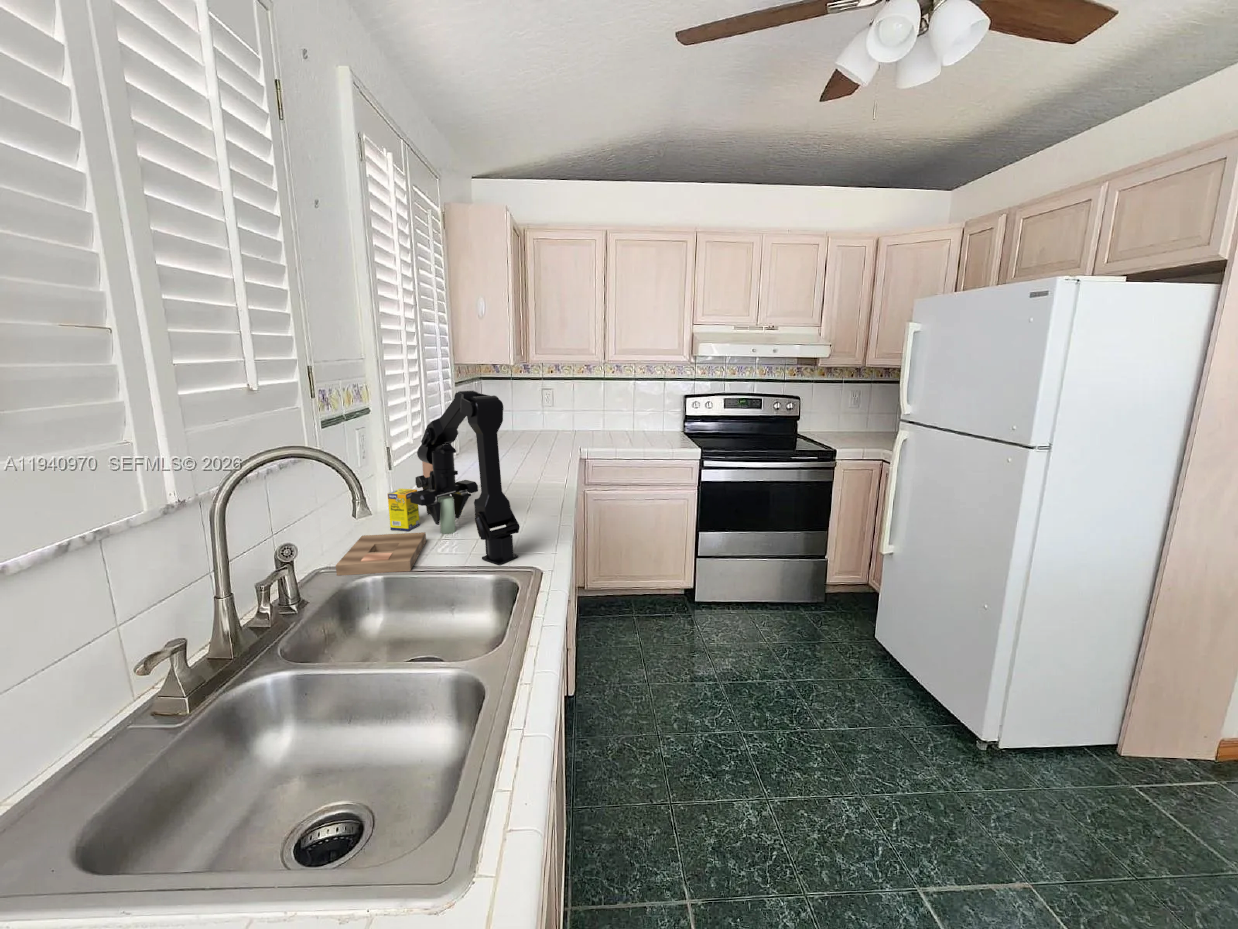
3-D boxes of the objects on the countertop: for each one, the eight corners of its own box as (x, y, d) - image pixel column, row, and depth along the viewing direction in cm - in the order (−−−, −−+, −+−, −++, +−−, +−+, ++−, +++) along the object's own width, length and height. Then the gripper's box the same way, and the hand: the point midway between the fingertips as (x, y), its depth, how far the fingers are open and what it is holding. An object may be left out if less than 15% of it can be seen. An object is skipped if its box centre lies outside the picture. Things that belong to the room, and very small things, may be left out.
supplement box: (408, 531, 150) (405, 494, 148) (389, 530, 152) (386, 493, 149) (420, 525, 156) (417, 489, 154) (402, 523, 157) (399, 488, 155)
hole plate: (363, 544, 140) (362, 534, 140) (426, 541, 143) (425, 531, 142) (336, 575, 121) (335, 564, 121) (410, 571, 124) (409, 560, 123)
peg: (458, 531, 151) (456, 497, 149) (446, 535, 148) (444, 500, 146) (449, 528, 153) (447, 495, 151) (437, 532, 150) (435, 498, 148)
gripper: (453, 458, 158) (456, 508, 162) (396, 469, 144) (400, 524, 147) (477, 463, 152) (480, 515, 155) (420, 475, 137) (425, 532, 141)
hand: (447, 521), depth 150 cm, fingers open, 6 cm apart
